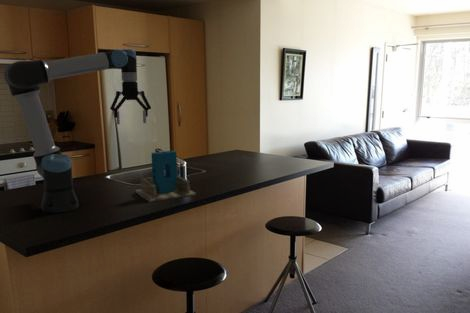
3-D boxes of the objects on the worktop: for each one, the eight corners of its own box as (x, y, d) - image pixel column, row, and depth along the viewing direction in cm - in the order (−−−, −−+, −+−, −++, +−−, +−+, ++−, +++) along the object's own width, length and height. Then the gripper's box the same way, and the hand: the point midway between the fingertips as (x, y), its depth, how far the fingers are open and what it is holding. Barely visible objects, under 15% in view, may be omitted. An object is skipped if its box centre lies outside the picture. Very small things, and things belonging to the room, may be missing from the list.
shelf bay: (149, 201, 186) (148, 187, 185) (135, 192, 205) (134, 178, 204) (196, 194, 198) (195, 181, 197) (178, 186, 217) (178, 173, 216)
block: (157, 194, 196) (155, 154, 192) (152, 192, 199) (150, 153, 196) (178, 190, 203) (177, 151, 200) (173, 188, 207) (171, 150, 204)
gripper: (105, 81, 191) (108, 125, 195) (156, 81, 204) (157, 123, 207) (102, 81, 198) (105, 124, 201) (151, 81, 210) (152, 122, 213)
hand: (131, 123), depth 204 cm, fingers open, 13 cm apart
